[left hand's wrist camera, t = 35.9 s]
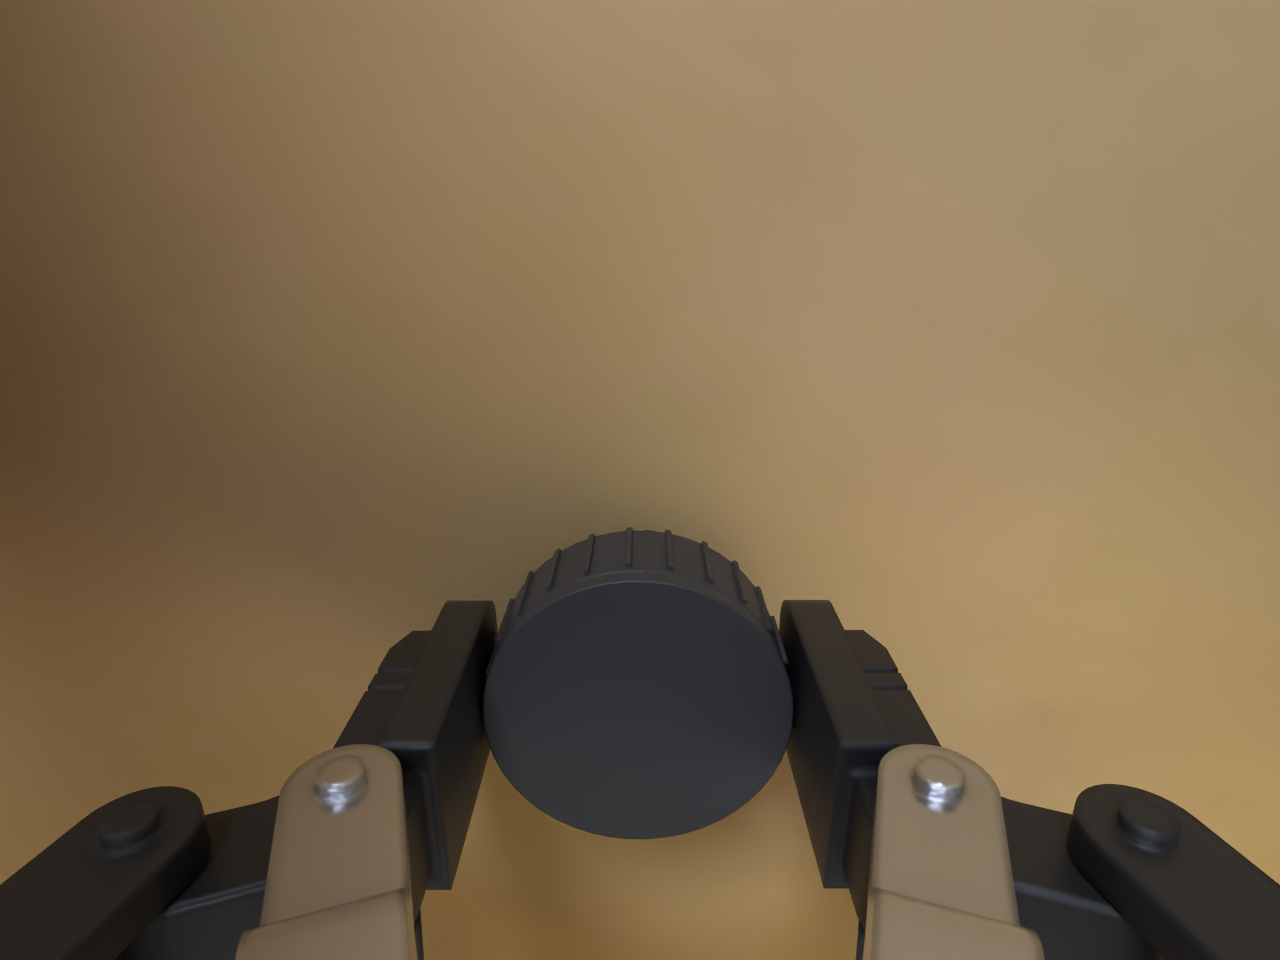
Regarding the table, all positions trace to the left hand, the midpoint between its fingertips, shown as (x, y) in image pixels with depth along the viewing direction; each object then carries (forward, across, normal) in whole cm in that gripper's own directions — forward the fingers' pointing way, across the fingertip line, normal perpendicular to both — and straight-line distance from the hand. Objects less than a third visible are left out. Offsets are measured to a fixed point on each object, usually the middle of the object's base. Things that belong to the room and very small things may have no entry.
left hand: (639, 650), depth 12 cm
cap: (-1, 0, 0) cm, 1 cm away
